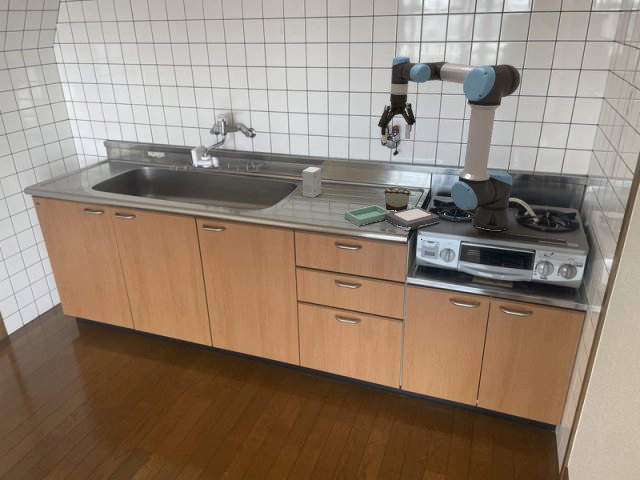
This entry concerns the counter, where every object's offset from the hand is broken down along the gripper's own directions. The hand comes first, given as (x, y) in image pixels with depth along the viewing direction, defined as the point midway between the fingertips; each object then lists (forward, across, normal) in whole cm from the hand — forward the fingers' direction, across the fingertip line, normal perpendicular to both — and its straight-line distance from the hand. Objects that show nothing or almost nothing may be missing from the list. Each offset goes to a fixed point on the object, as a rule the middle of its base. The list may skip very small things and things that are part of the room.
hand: (395, 140), depth 230 cm
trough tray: (+28, +27, +16) cm, 42 cm away
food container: (+28, +9, +14) cm, 33 cm away
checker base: (+28, +13, +29) cm, 42 cm away
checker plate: (+26, +13, +29) cm, 41 cm away
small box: (+28, +32, -24) cm, 49 cm away
